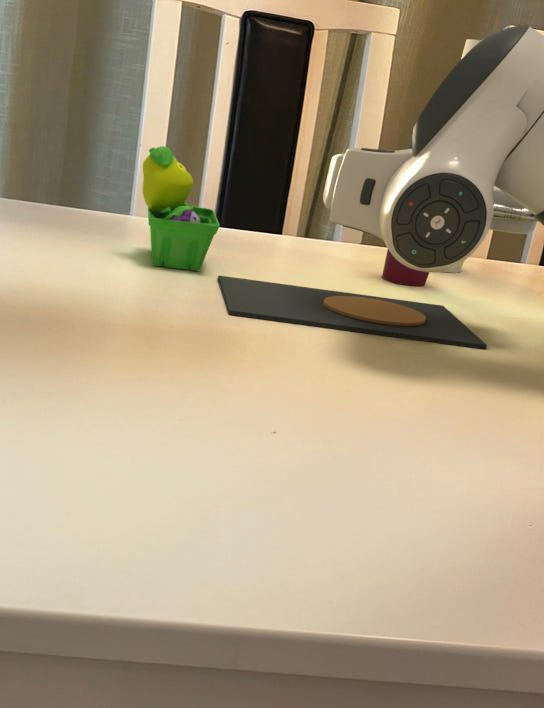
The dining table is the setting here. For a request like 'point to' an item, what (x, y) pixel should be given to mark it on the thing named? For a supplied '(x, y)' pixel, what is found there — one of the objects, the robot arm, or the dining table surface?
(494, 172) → the robot arm
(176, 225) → the fruit basket
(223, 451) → the dining table surface
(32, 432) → the dining table surface
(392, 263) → the cup
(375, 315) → the placemat
